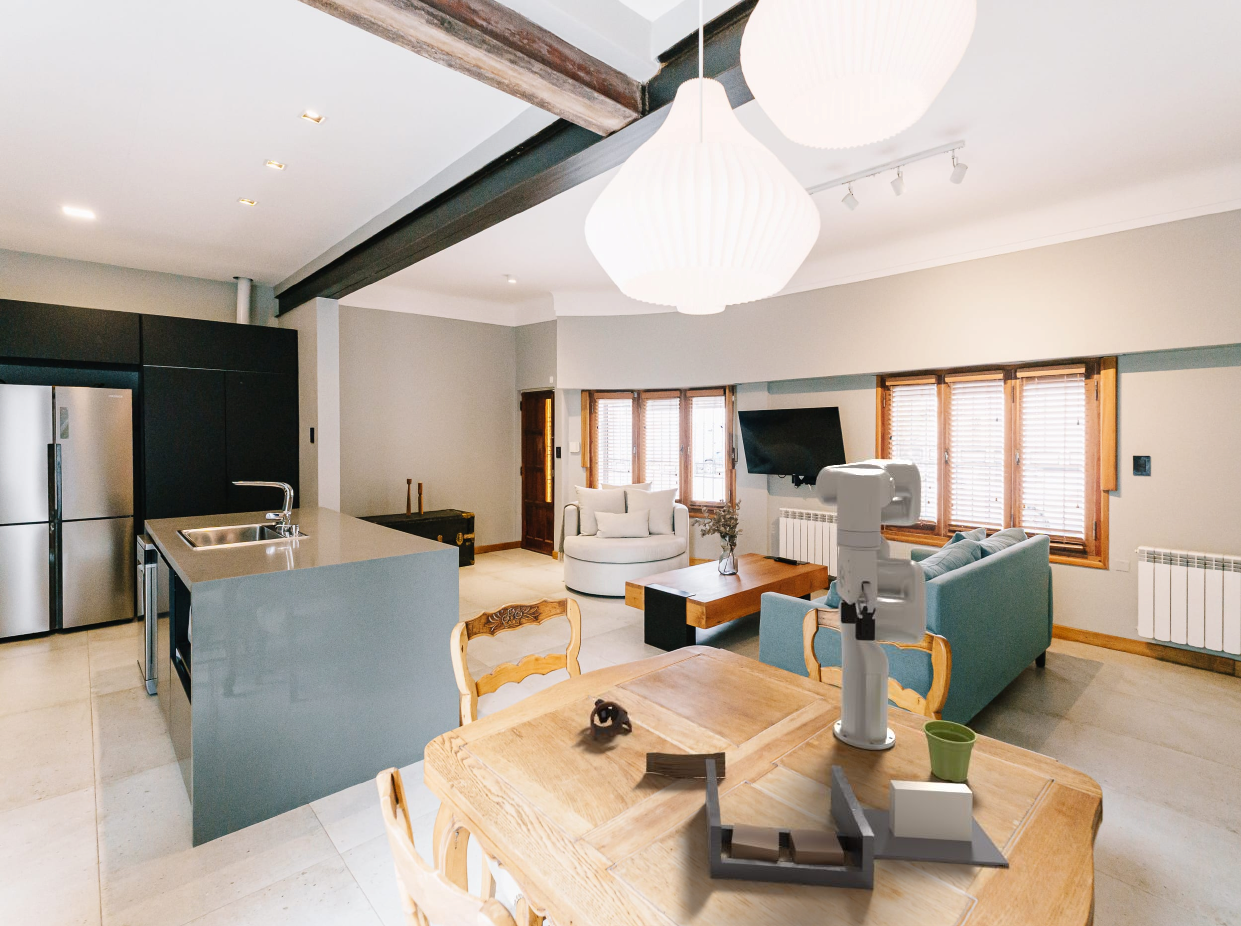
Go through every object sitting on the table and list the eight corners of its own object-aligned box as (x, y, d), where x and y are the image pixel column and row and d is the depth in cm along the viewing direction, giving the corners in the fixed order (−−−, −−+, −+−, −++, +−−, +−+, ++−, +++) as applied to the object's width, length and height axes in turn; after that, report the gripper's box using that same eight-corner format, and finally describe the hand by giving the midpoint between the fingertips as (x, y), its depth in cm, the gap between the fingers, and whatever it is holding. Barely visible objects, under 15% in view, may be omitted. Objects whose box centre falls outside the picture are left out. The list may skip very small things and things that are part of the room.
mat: (852, 810, 107) (852, 808, 107) (971, 817, 105) (971, 815, 105) (874, 857, 95) (874, 854, 95) (1008, 866, 93) (1008, 863, 93)
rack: (705, 802, 110) (705, 759, 109) (839, 810, 107) (840, 765, 107) (710, 877, 91) (710, 825, 90) (873, 889, 88) (874, 836, 88)
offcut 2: (789, 853, 96) (789, 829, 96) (834, 856, 96) (834, 831, 96) (795, 876, 91) (796, 850, 91) (843, 878, 91) (843, 852, 91)
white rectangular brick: (889, 826, 102) (890, 780, 102) (964, 831, 101) (965, 784, 100) (894, 836, 99) (895, 788, 99) (971, 841, 98) (972, 793, 98)
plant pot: (911, 766, 121) (911, 724, 121) (946, 758, 125) (946, 716, 124) (951, 792, 113) (952, 746, 112) (987, 782, 116) (988, 737, 116)
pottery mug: (643, 737, 135) (634, 713, 131) (608, 764, 131) (598, 741, 127) (615, 704, 144) (605, 681, 140) (582, 729, 141) (571, 706, 137)
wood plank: (724, 774, 119) (724, 749, 119) (725, 780, 117) (725, 755, 117) (646, 773, 119) (646, 748, 119) (646, 778, 117) (646, 753, 117)
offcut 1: (734, 846, 98) (734, 822, 98) (778, 854, 96) (778, 829, 96) (731, 868, 93) (731, 842, 93) (778, 876, 91) (778, 850, 91)
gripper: (826, 531, 120) (825, 617, 121) (850, 547, 103) (848, 646, 103) (865, 532, 119) (864, 618, 120) (896, 547, 102) (894, 648, 103)
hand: (857, 631), depth 112 cm, fingers open, 9 cm apart
